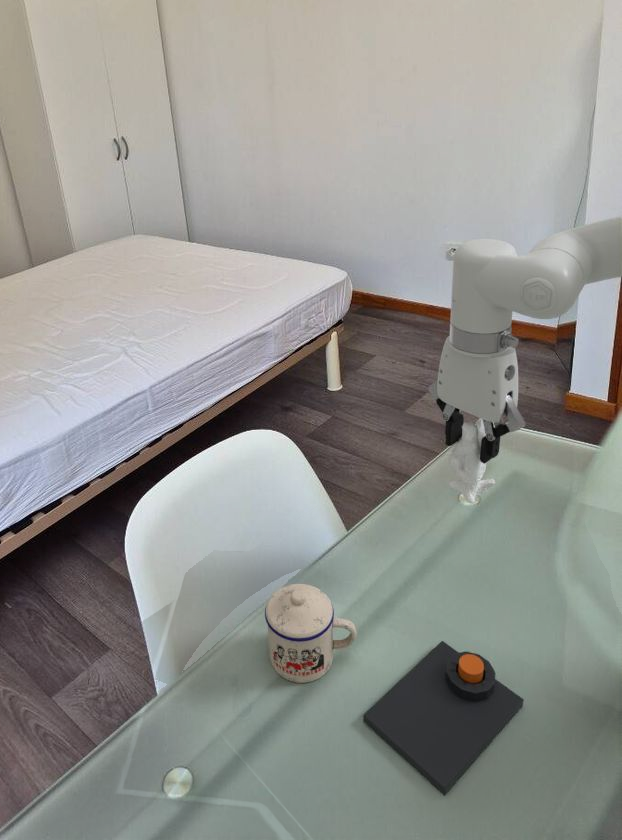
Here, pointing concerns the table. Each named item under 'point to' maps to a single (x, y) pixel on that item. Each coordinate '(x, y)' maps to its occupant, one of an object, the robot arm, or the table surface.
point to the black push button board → (442, 716)
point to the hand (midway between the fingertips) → (470, 449)
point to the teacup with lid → (303, 632)
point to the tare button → (471, 668)
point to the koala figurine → (469, 462)
